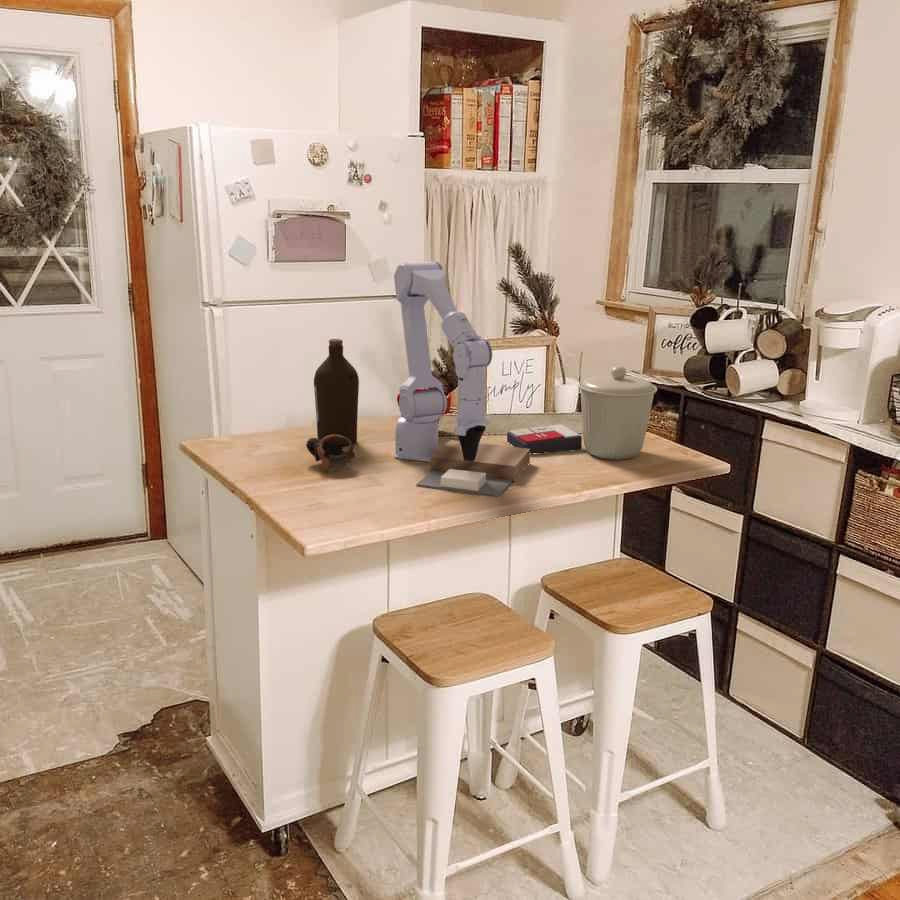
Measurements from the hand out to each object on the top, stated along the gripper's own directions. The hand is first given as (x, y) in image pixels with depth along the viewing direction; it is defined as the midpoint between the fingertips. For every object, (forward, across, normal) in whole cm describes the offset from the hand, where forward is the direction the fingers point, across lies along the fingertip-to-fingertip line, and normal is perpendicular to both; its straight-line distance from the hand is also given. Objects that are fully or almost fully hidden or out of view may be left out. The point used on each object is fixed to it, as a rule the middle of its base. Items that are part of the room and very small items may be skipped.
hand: (469, 459), depth 190 cm
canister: (+5, +31, -26) cm, 41 cm away
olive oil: (+5, +15, +38) cm, 41 cm away
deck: (+4, +9, 0) cm, 10 cm away
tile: (+2, -4, 0) cm, 5 cm away
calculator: (+5, +31, -9) cm, 33 cm away
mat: (+4, -3, 0) cm, 5 cm away
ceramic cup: (+5, +32, +23) cm, 40 cm away
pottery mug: (+5, -2, +31) cm, 32 cm away
